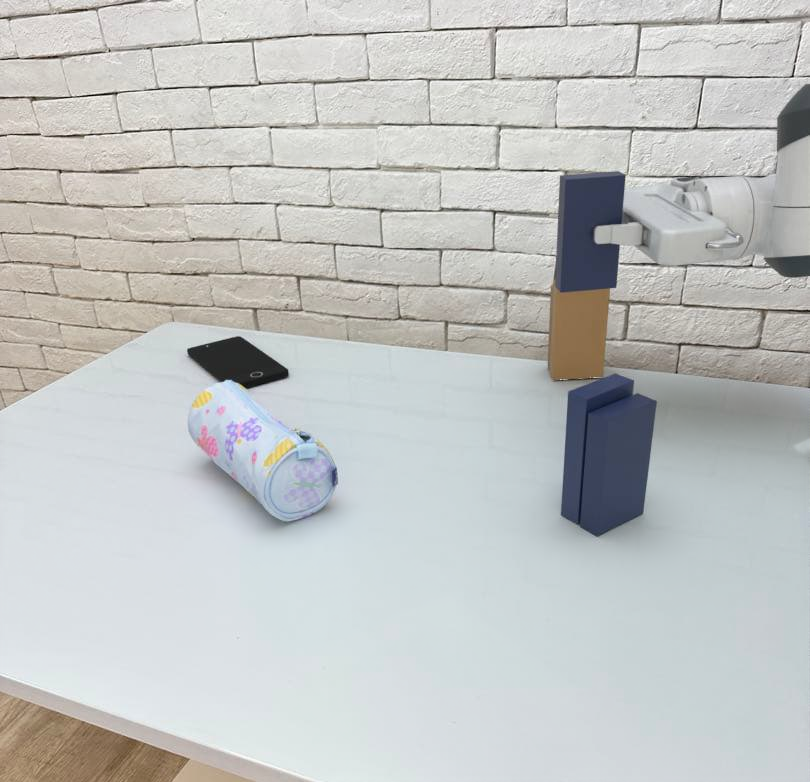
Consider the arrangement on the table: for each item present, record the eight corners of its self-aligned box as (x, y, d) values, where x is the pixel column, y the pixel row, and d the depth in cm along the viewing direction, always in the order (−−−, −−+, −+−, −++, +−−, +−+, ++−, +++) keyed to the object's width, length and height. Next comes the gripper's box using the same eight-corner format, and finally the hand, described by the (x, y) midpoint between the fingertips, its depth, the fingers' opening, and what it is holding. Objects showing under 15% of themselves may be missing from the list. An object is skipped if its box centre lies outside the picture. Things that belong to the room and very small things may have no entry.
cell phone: (232, 392, 117) (231, 385, 116) (186, 354, 130) (185, 348, 129) (290, 376, 121) (289, 369, 120) (240, 341, 134) (239, 335, 133)
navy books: (605, 493, 90) (616, 372, 82) (643, 513, 86) (658, 388, 79) (559, 515, 87) (566, 391, 79) (597, 536, 83) (608, 409, 76)
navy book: (609, 282, 99) (618, 170, 92) (616, 288, 97) (625, 174, 90) (554, 286, 98) (559, 175, 92) (560, 292, 96) (565, 179, 90)
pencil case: (346, 509, 90) (337, 428, 85) (273, 538, 86) (259, 454, 81) (257, 440, 105) (245, 367, 99) (191, 462, 101) (174, 387, 95)
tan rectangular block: (595, 364, 119) (602, 271, 112) (602, 378, 115) (610, 282, 108) (546, 367, 119) (550, 274, 112) (552, 381, 115) (557, 285, 108)
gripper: (746, 275, 88) (615, 286, 87) (672, 228, 105) (562, 237, 104) (757, 211, 85) (621, 222, 84) (678, 174, 102) (565, 182, 101)
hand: (588, 230), depth 94 cm, fingers closed on navy book, 2 cm apart
